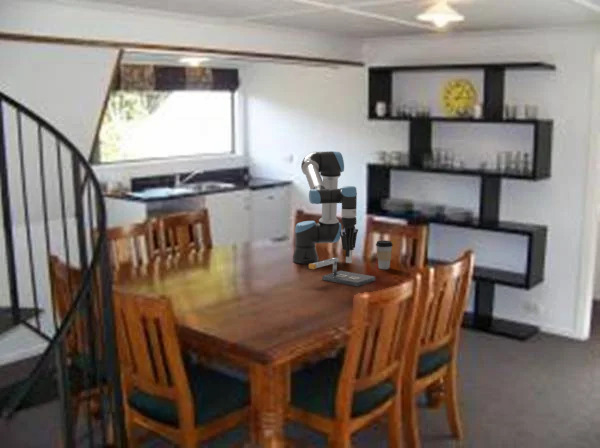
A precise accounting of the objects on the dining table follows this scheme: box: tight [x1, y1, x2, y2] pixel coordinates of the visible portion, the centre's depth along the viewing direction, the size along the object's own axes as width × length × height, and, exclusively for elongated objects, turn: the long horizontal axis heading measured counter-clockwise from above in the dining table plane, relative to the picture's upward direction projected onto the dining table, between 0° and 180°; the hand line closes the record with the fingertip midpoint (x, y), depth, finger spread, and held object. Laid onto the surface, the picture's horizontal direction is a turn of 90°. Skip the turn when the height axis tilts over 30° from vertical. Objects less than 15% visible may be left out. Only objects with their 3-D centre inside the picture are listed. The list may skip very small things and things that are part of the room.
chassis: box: [322, 263, 376, 287], centre depth 342 cm, size 22×16×8 cm
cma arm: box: [308, 257, 340, 270], centre depth 340 cm, size 22×4×2 cm, turn 139°
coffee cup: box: [375, 240, 394, 270], centre depth 369 cm, size 9×9×15 cm
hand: (348, 262), depth 338 cm, fingers closed
